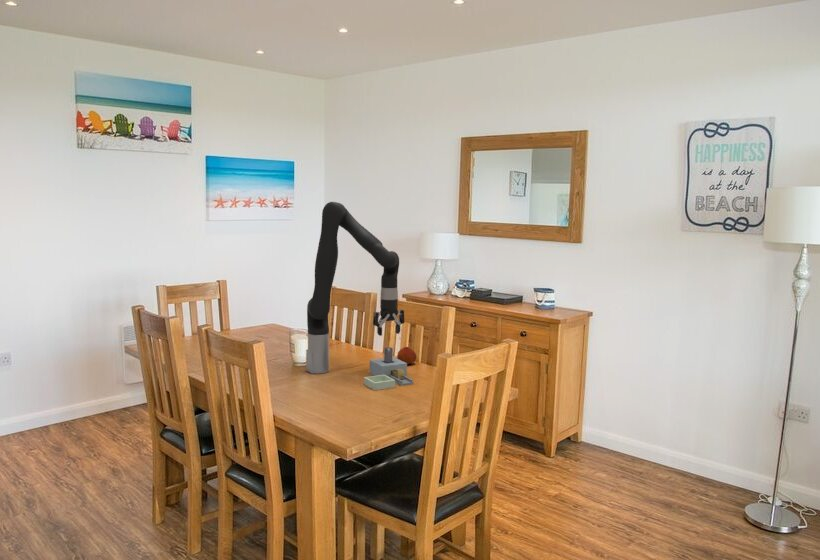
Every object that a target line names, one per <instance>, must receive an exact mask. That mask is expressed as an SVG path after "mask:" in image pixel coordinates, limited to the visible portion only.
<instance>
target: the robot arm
mask: <svg viewBox="0 0 820 560" xmlns="http://www.w3.org/2000/svg"><path fill="white" fill-rule="evenodd" d="M339 227H341V228H343V229H344V230H345V231H346V232H347V233H349V234H350V236H351V237H352V238H353V239H354V240H355V241H356V243H358V245H359V246H361V247H362V248H363V249H364V250H365V251H366V252H368V253H369V254H370V255H371V256H372V257H373V258H374V260H375V261H376V263H378V264H379V266H381V267H383V272H382V275H381V279H380V281H381V282H380V283H381V284H380V285H381V286H380V306H379V308H380V311H374V312H373V318H372V319H373V320H372V325H373V326H375V327H376V330H377V332H376V333H377V335H378V336H380V337H382V336H383V326H384V324H385V323H386V322H390V321H391V322H394V323H395V334H398V335H399V334H400V332H401V325H402V324H405V310H404V309H399V310H398V305H399V303H398V302H399V290H398V289H399V288H398V274H399V268H400V257H399V254H398V253H397V252H396V251H393V250H390V251H389V250H388V248H386V247H385V246H384V245H383V243H382V241H381V240H380V239H378V238H377V237H376V236H375V235H373V233H371V232H370V231H369V230H368V229H367V228H365V227H364V226H363V225H362V224H361V223H359V221H357V220H356V218H355V217H354V216H353V215H352V214H351V212H349V210H348V209H347V208H346V206H344V204H342V203H340V202H337V201H329V202H327V203H325V205H324V207H323V209H322V214H321V229H320V237H319V242H318V247H317V252H316V257H315V263H314V288H313V293H312V297H311V298H310V299H309V300H308V302H307V306H306V307H307V308H306V322H307V325H306V326H307V349H306V350H305V355H306V356H305V362H306V363H305V368H306V369H305V371H307V372H308V373H310V374H317V375H318V374H325V373H328V372H329V369H330V362H329V361H330V357H329V356H330V349H329V348H330V326H329V314H330V310H331V295H332V288H333V283H334V280H335V275H336V274H335V273H336V270H337V265H338V260H339V259H338V258H339V246H338V233H339ZM397 316H398V317H397ZM379 317H380V318H379Z"/></svg>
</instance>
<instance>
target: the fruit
mask: <svg viewBox="0 0 820 560" xmlns="http://www.w3.org/2000/svg"><path fill="white" fill-rule="evenodd" d="M396 356H397V357H396V358H397V359H399V360H401V361H403V362H405V363H407V365H410V364H413V363H414V362H416V360H417V353H416V352H415V351H414V350H413V349H412V348H410V347H408V346H405V347H403V348H401V349H400V350H398V352H397V355H396Z"/></svg>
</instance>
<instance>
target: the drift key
mask: <svg viewBox="0 0 820 560" xmlns="http://www.w3.org/2000/svg"><path fill="white" fill-rule="evenodd" d="M391 375H392V376H394V377H396V378H398V379H404V369H396V370H393V371H391Z"/></svg>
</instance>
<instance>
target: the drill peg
mask: <svg viewBox="0 0 820 560" xmlns="http://www.w3.org/2000/svg"><path fill="white" fill-rule="evenodd" d="M393 350H394V349H393V347H388V346H387V347H384V350H383V351H384V352H383V354H384V355H383V356H384V357H383V358H384V363H392V357H393Z"/></svg>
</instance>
